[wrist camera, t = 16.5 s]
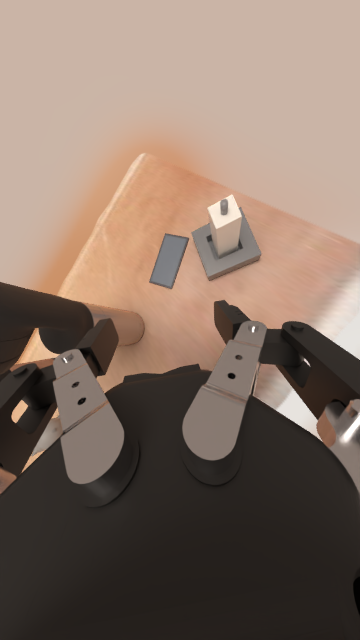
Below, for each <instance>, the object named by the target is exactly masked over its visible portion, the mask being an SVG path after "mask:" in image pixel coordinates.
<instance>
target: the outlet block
mask: <svg viewBox="0 0 360 640" xmlns="http://www.w3.org/2000/svg"><path fill="white" fill-rule="evenodd" d="M239 210H240V213H241V215H242V220H241V227H240V234H239V241H238V248H237V251H236V252H234V253H232V254H230V255H227V256H225V257H223V258H221V259H219V258H218V256H217V253H216V251H215V248H214V246H213V242H212V235H211V228H210V223H209V224H207V225H205V226H203V227H201V228H199V229H197V230H195V231H193V232H191V233H192V236H193V239H194V242H195V244H196V247H197V250H198V252H199V255H200V258H201V260H202V263H203V266H204V268H205V271H206V273H207V276H208V279H209V281H210V280H212V279H214V278H217V277H219V276H221V275H224V274H226V273H229V272H231V271H233V270H236V269H238V268H240V267H243V266H245V265H248V264H250V263H252V262H255V261H257V260H259V258H260V256H261V251H260V249H259V247H258V245H257V242H256V240H255V238H254V236H253V233H252V231H251V229H250V227H249V224H248V222H247V220H246V218H245V215H244V213H243V211H242V209H241V207H240V208H239Z"/></svg>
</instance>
